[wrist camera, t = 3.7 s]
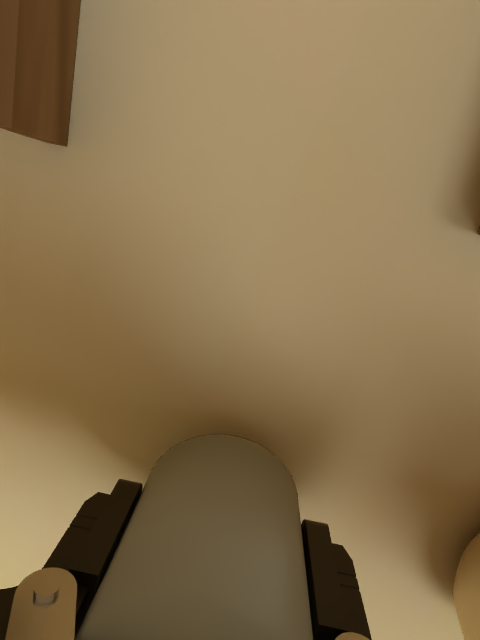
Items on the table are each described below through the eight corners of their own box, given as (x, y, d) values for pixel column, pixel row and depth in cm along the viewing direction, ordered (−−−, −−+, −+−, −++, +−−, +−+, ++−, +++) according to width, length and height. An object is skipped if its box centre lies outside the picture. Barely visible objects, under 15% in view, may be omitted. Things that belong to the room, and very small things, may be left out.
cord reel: (314, 452, 14) (356, 663, 7) (279, 581, 15) (288, 856, 9) (157, 419, 14) (60, 598, 7) (135, 550, 15) (37, 799, 9)
